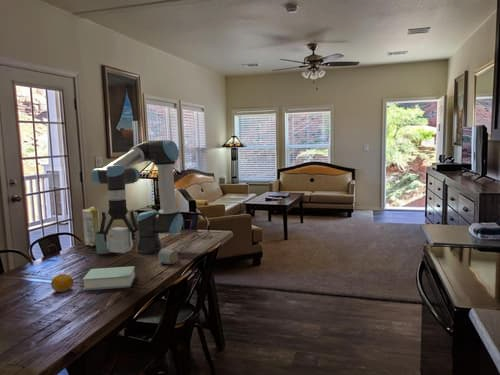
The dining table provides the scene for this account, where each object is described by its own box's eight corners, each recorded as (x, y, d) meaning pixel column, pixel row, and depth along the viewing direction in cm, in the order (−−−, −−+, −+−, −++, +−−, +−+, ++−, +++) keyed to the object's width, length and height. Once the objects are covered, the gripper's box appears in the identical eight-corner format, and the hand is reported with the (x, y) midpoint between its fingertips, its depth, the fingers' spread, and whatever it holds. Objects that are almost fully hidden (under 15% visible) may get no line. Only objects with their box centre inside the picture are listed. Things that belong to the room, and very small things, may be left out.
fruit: (55, 288, 162) (59, 270, 166) (45, 292, 166) (49, 273, 170) (74, 292, 168) (78, 273, 172) (64, 295, 172) (68, 277, 176)
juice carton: (102, 243, 248) (100, 206, 245) (92, 246, 241) (89, 208, 239) (93, 242, 253) (91, 205, 250) (82, 245, 246) (80, 207, 244)
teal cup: (91, 253, 226) (90, 233, 225) (104, 249, 236) (103, 229, 234) (105, 255, 223) (104, 234, 221) (117, 250, 232) (116, 230, 230)
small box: (131, 249, 179) (130, 227, 178) (124, 253, 174) (122, 230, 172) (117, 248, 181) (115, 226, 180) (109, 252, 176) (107, 229, 175)
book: (91, 279, 182) (91, 269, 182) (135, 276, 185) (134, 266, 184) (83, 290, 169) (82, 279, 168) (130, 287, 171) (129, 276, 171)
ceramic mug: (171, 266, 199) (170, 251, 198) (158, 264, 202) (157, 250, 201) (182, 260, 209) (181, 246, 208) (169, 259, 212) (168, 245, 211)
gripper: (89, 201, 169) (93, 251, 172) (141, 199, 173) (144, 248, 175) (93, 199, 177) (96, 246, 179) (143, 197, 180) (145, 244, 183)
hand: (120, 247), depth 177 cm, fingers closed on small box, 9 cm apart
